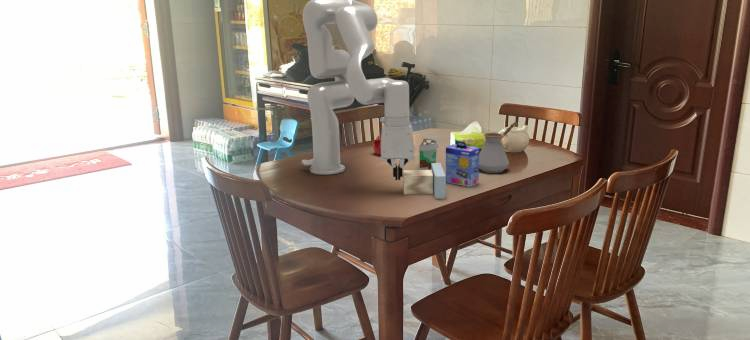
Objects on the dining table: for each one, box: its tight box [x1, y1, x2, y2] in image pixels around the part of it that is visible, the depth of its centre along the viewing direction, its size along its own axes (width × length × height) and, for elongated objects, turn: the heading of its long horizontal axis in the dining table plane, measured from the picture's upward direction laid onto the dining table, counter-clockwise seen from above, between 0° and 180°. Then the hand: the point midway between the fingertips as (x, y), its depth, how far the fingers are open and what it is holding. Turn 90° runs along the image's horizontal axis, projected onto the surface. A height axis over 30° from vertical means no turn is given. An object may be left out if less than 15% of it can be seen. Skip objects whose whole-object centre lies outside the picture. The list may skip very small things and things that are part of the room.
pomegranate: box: [372, 134, 381, 156], centre depth 231 cm, size 10×10×9 cm
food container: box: [418, 137, 439, 170], centre depth 207 cm, size 12×6×10 cm, turn 168°
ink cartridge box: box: [445, 140, 480, 188], centre depth 188 cm, size 10×6×14 cm, turn 51°
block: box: [402, 169, 434, 195], centre depth 183 cm, size 9×7×6 cm
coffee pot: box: [479, 122, 519, 174], centre depth 206 cm, size 21×12×15 cm, turn 138°
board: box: [431, 162, 447, 200], centre depth 182 cm, size 3×16×7 cm, turn 179°
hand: (397, 178), depth 182 cm, fingers closed
